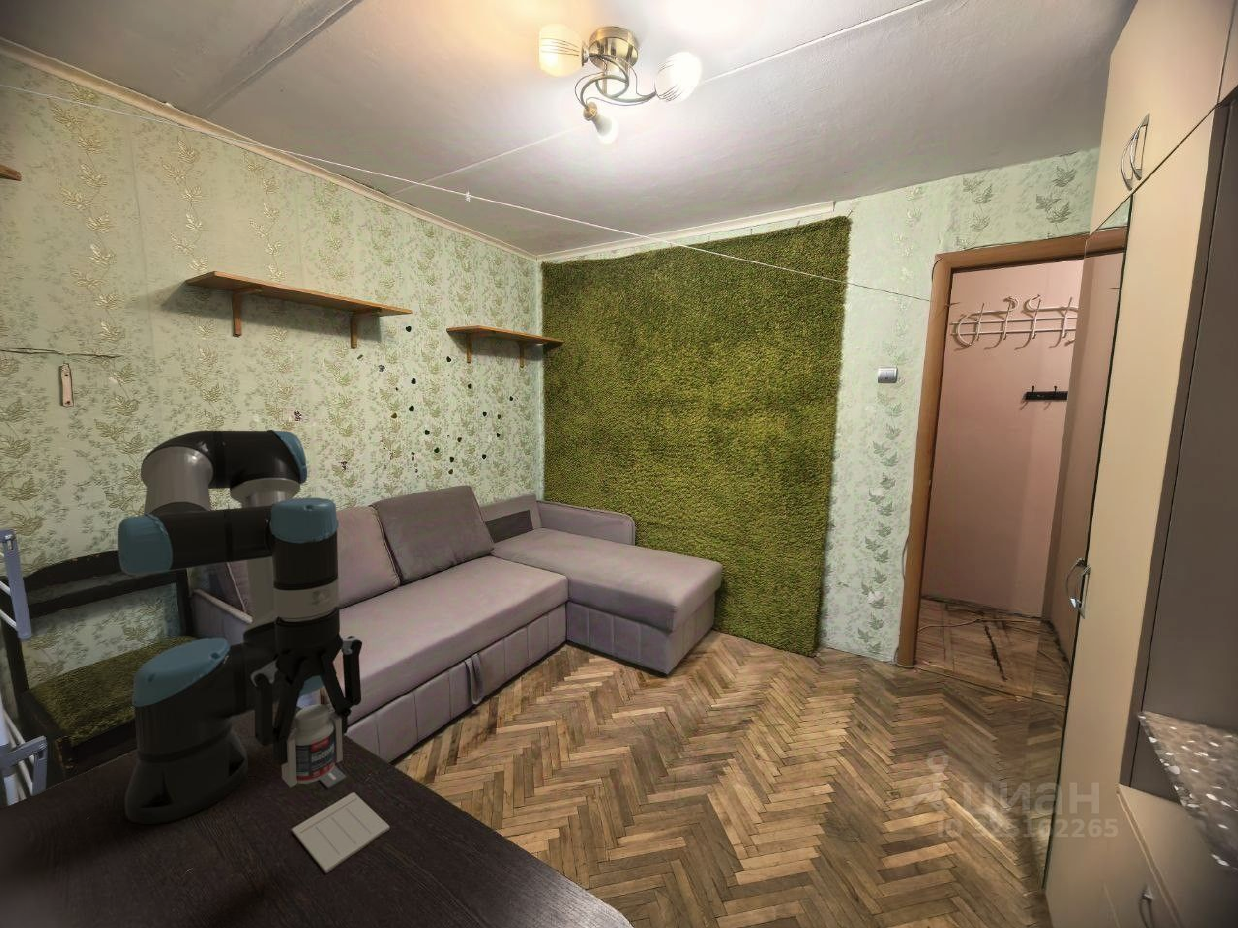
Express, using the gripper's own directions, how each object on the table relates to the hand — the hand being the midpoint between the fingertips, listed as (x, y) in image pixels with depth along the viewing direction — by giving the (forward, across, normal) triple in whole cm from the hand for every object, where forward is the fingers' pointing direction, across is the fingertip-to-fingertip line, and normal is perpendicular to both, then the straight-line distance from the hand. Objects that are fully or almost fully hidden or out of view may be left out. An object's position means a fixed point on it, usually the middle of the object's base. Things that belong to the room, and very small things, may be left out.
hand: (313, 768), depth 69 cm
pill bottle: (+1, 0, 0) cm, 1 cm away
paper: (+12, +4, 0) cm, 13 cm away
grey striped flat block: (+12, +8, +13) cm, 19 cm away
